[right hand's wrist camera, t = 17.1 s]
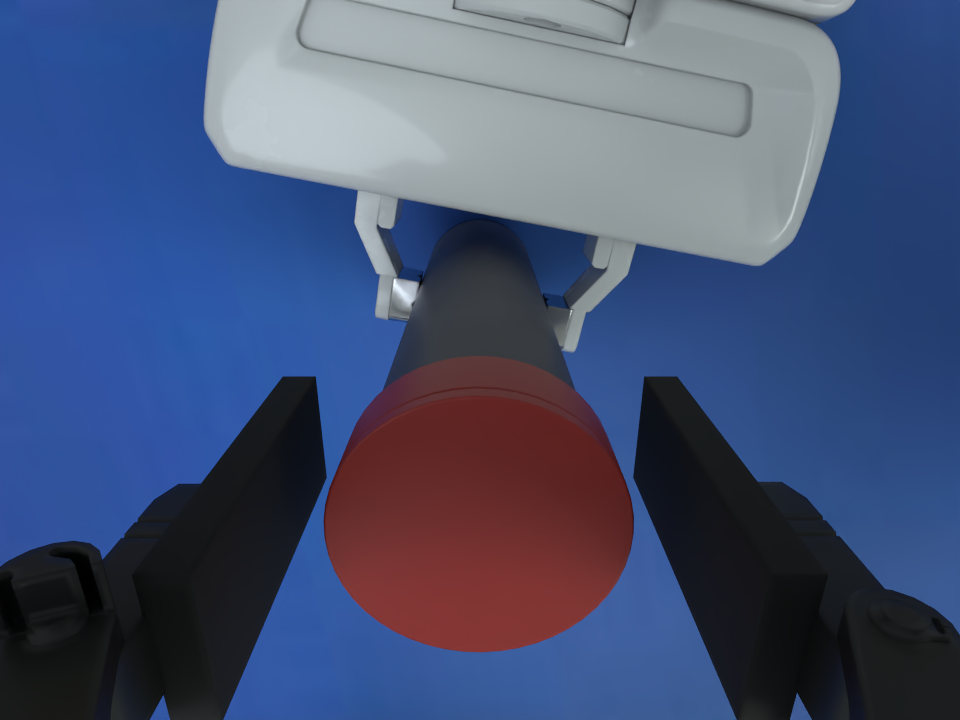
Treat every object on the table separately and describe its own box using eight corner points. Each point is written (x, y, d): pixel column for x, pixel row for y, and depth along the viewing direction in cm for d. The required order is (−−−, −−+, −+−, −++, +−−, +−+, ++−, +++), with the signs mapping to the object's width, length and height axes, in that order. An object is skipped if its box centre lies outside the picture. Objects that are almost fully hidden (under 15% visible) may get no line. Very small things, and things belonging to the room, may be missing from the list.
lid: (668, 476, 12) (699, 533, 11) (482, 623, 14) (483, 695, 12) (473, 296, 11) (473, 329, 9) (290, 482, 12) (260, 540, 11)
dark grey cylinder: (471, 337, 31) (459, 656, 12) (408, 262, 29) (290, 499, 11) (549, 278, 30) (661, 535, 11) (488, 198, 28) (503, 343, 10)
